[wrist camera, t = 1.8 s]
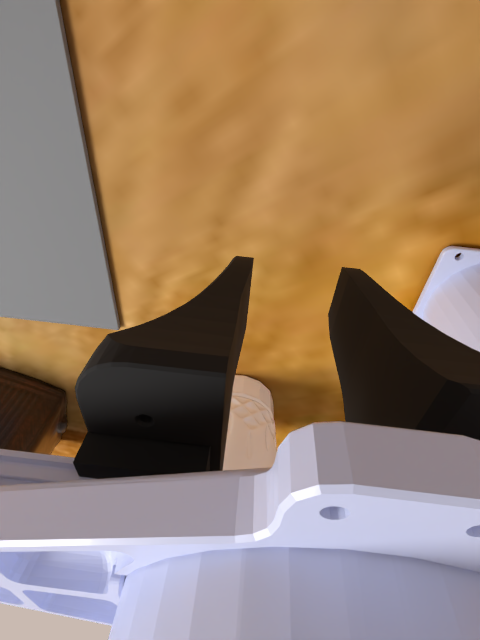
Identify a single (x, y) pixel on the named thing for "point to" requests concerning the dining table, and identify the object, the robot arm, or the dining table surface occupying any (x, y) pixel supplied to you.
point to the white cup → (250, 426)
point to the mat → (46, 179)
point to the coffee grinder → (30, 414)
